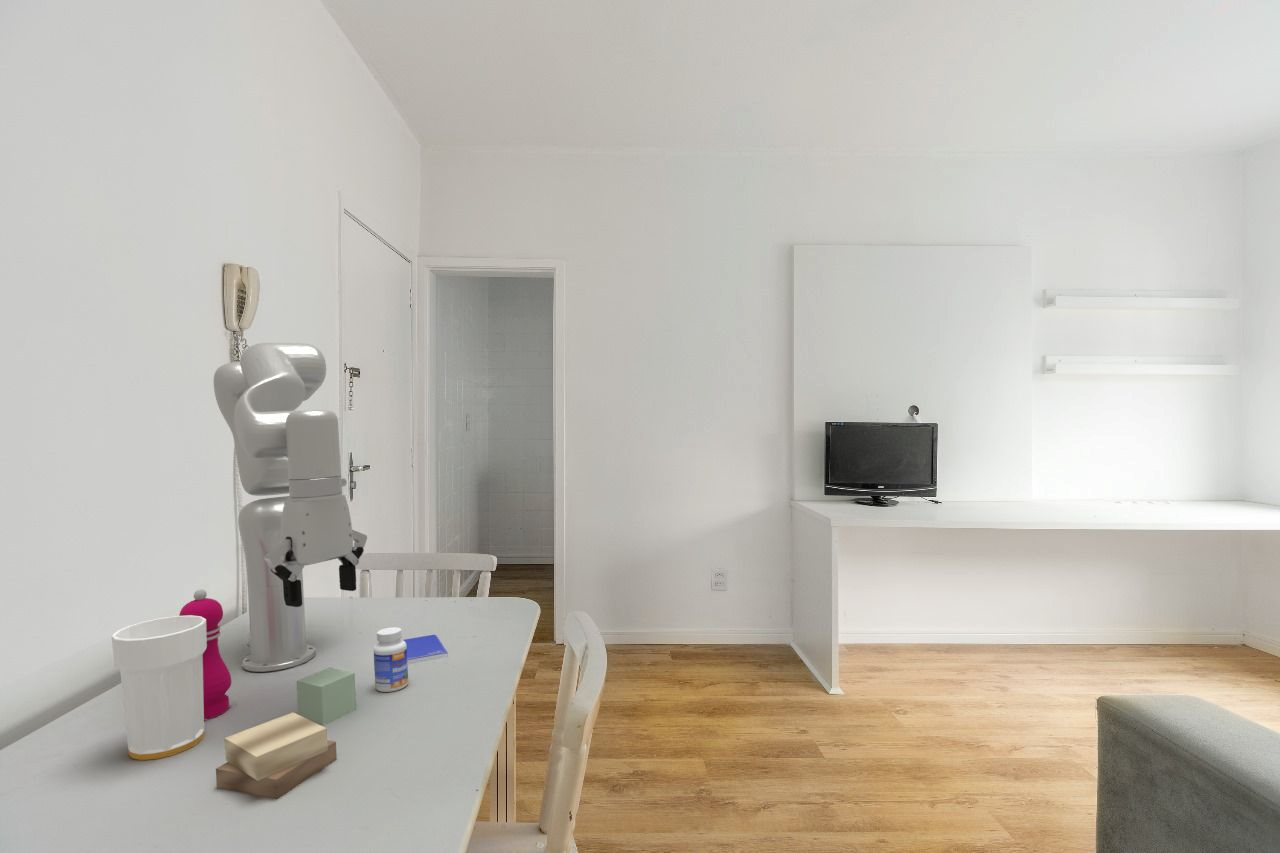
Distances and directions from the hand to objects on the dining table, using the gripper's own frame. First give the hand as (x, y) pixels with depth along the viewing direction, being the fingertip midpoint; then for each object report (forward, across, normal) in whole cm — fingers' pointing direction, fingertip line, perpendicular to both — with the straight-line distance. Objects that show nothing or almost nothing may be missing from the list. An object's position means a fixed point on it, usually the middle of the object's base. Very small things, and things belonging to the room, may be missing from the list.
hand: (322, 597), depth 110 cm
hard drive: (+19, -27, -8) cm, 34 cm away
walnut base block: (+19, +15, +10) cm, 26 cm away
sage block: (+19, 0, -1) cm, 19 cm away
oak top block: (+16, +15, +10) cm, 24 cm away
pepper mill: (+19, +8, -20) cm, 28 cm away
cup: (+19, +17, -14) cm, 29 cm away
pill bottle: (+19, -12, 0) cm, 22 cm away
